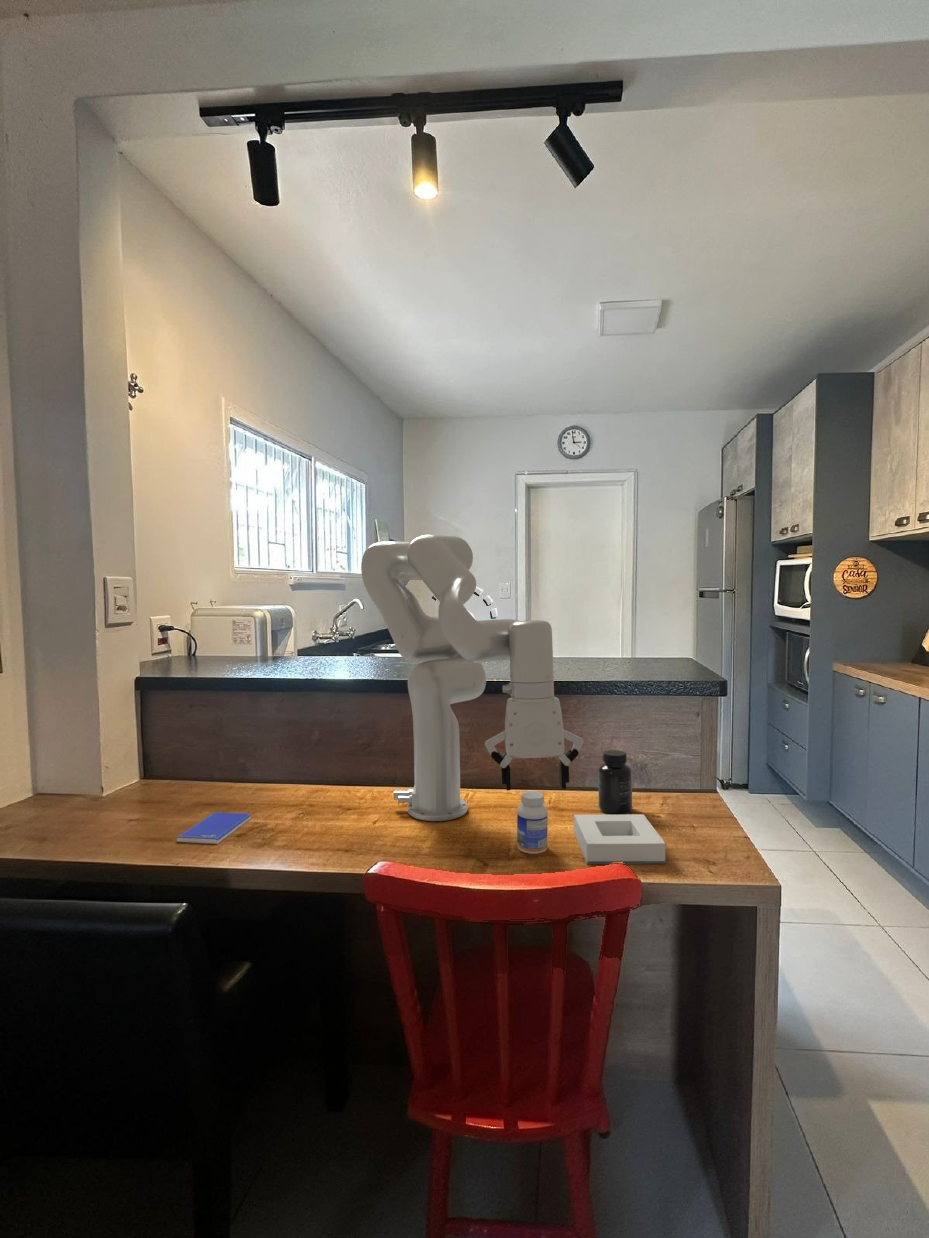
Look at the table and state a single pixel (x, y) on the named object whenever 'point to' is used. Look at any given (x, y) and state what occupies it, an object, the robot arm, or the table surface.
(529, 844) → the pill bottle
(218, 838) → the hard drive
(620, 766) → the supplement bottle
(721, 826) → the table surface
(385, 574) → the robot arm
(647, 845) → the housing
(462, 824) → the table surface
